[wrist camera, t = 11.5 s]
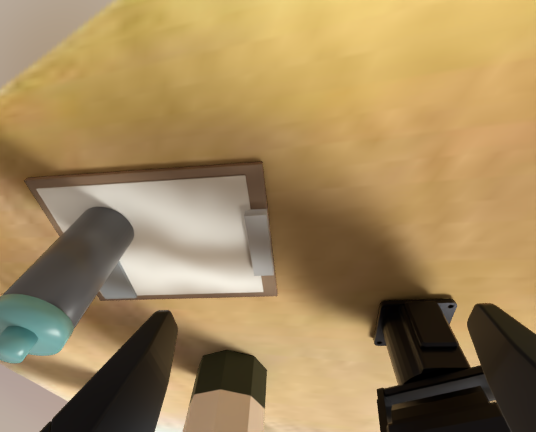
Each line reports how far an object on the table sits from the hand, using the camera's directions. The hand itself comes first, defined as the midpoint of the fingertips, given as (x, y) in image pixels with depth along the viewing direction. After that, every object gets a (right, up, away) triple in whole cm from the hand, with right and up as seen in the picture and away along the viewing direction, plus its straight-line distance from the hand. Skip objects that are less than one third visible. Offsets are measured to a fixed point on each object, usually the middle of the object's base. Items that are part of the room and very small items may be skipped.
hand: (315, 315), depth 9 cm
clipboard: (-10, +1, +15) cm, 18 cm away
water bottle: (-14, +2, +14) cm, 20 cm away
